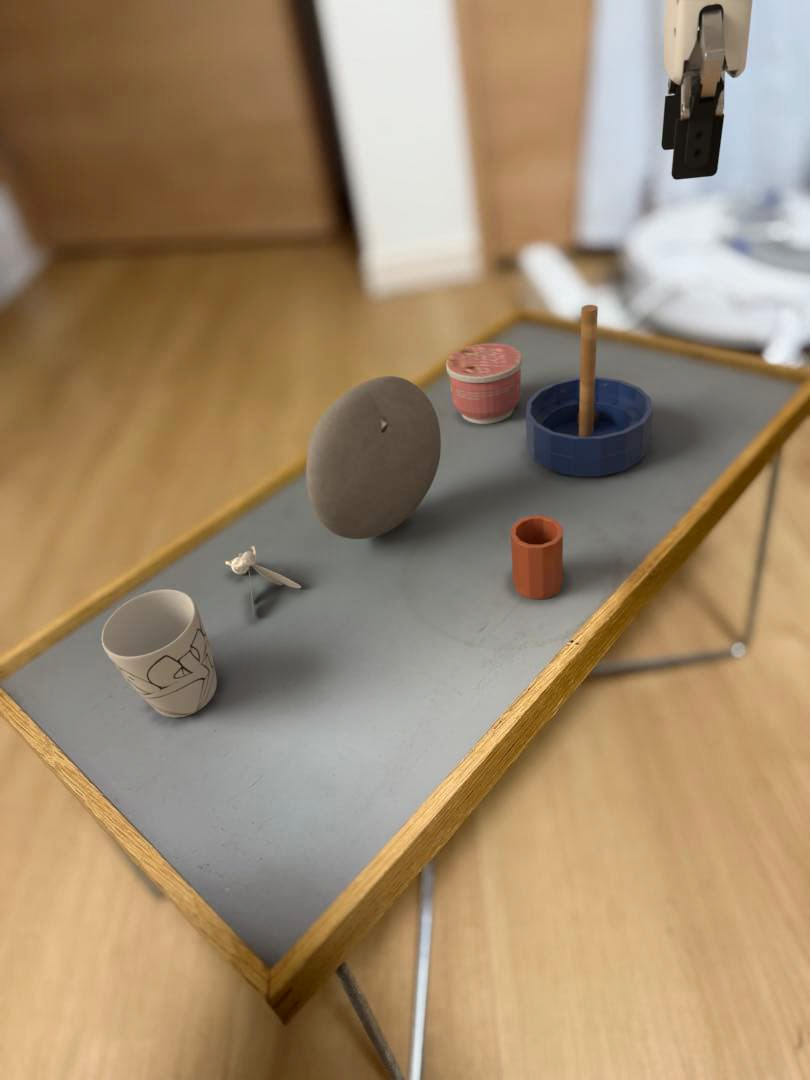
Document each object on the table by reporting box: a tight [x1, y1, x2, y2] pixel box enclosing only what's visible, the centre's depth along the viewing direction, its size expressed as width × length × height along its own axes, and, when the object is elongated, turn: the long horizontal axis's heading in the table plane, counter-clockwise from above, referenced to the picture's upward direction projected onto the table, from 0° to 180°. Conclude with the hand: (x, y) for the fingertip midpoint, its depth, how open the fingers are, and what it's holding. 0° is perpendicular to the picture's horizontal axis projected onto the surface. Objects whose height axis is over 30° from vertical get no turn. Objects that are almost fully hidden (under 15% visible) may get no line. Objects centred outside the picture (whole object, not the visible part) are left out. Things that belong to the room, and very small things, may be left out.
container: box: [445, 342, 523, 425], centre depth 100 cm, size 10×10×8 cm
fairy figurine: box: [225, 545, 302, 615], centre depth 79 cm, size 6×7×7 cm
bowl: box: [525, 376, 654, 477], centre depth 90 cm, size 15×15×6 cm
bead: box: [577, 408, 600, 428], centre depth 93 cm, size 3×3×3 cm
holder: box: [510, 515, 564, 600], centre depth 71 cm, size 5×5×7 cm
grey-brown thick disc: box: [305, 375, 442, 540], centre depth 78 cm, size 18×7×19 cm, turn 132°
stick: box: [579, 304, 599, 436], centre depth 86 cm, size 2×2×18 cm
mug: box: [101, 588, 218, 719], centre depth 66 cm, size 11×8×10 cm
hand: (686, 161), depth 57 cm, fingers open, 9 cm apart
